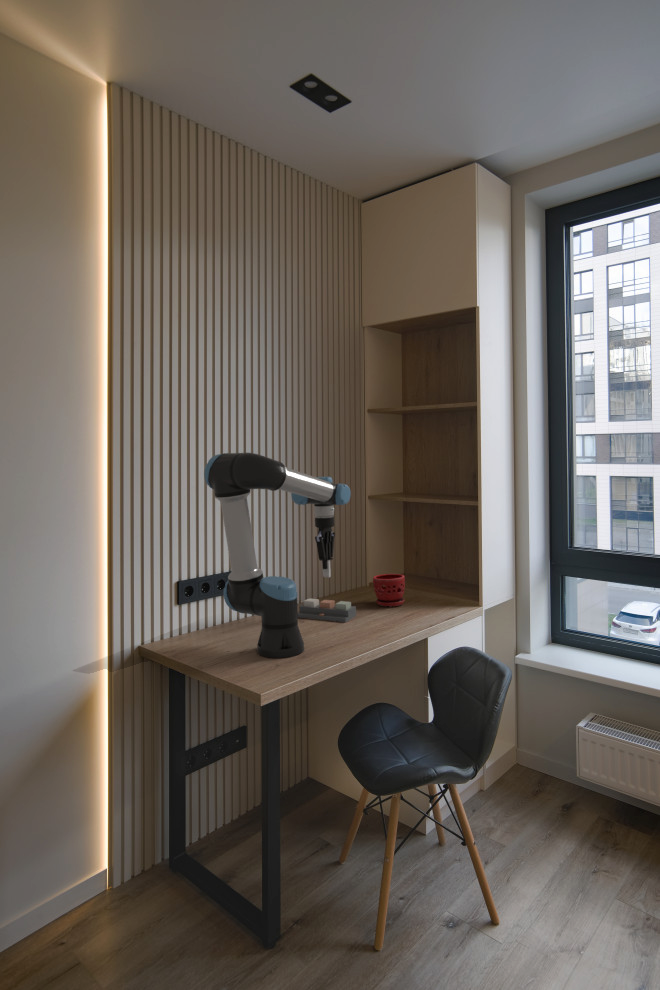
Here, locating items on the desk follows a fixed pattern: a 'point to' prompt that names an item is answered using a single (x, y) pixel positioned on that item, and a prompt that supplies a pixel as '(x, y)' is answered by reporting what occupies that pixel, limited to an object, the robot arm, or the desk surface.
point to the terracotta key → (327, 604)
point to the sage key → (343, 605)
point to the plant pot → (389, 589)
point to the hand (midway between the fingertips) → (326, 576)
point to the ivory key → (311, 602)
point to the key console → (327, 613)
